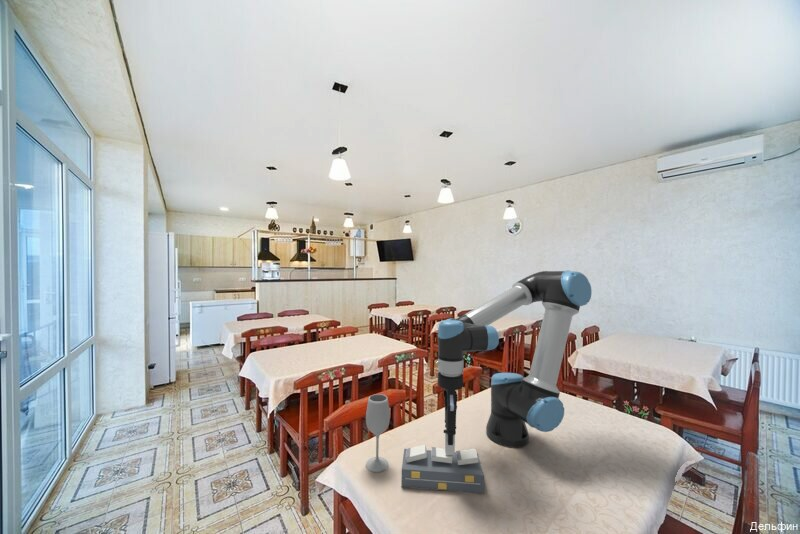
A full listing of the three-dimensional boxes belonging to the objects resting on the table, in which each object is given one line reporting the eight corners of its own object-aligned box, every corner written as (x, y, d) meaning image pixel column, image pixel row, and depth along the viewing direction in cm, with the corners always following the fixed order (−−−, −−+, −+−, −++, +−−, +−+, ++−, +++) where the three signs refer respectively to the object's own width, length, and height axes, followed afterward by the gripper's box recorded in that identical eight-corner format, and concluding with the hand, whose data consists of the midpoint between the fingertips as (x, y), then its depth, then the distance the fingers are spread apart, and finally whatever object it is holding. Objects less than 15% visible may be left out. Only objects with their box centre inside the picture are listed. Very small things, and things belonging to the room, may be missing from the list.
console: (477, 469, 92) (477, 453, 92) (484, 494, 82) (484, 475, 82) (404, 464, 94) (404, 448, 94) (401, 487, 84) (401, 469, 84)
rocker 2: (450, 454, 90) (451, 449, 90) (452, 463, 86) (452, 458, 86) (431, 451, 91) (431, 446, 91) (431, 460, 86) (431, 455, 86)
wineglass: (365, 457, 97) (366, 393, 98) (388, 456, 98) (389, 392, 98) (364, 473, 90) (365, 403, 90) (389, 472, 90) (390, 402, 91)
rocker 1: (426, 448, 91) (425, 444, 91) (426, 457, 86) (425, 452, 86) (407, 453, 91) (406, 448, 91) (407, 462, 87) (405, 457, 87)
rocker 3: (476, 453, 89) (475, 448, 89) (478, 462, 85) (477, 457, 85) (456, 456, 90) (455, 451, 90) (458, 465, 86) (457, 460, 86)
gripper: (436, 365, 95) (436, 440, 95) (438, 379, 82) (438, 466, 81) (460, 366, 95) (459, 441, 94) (466, 381, 81) (465, 468, 81)
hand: (449, 453), depth 88 cm, fingers closed
